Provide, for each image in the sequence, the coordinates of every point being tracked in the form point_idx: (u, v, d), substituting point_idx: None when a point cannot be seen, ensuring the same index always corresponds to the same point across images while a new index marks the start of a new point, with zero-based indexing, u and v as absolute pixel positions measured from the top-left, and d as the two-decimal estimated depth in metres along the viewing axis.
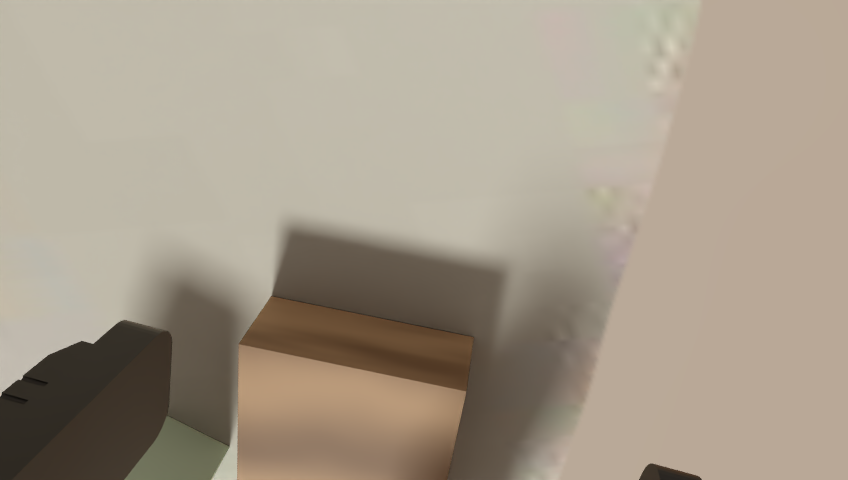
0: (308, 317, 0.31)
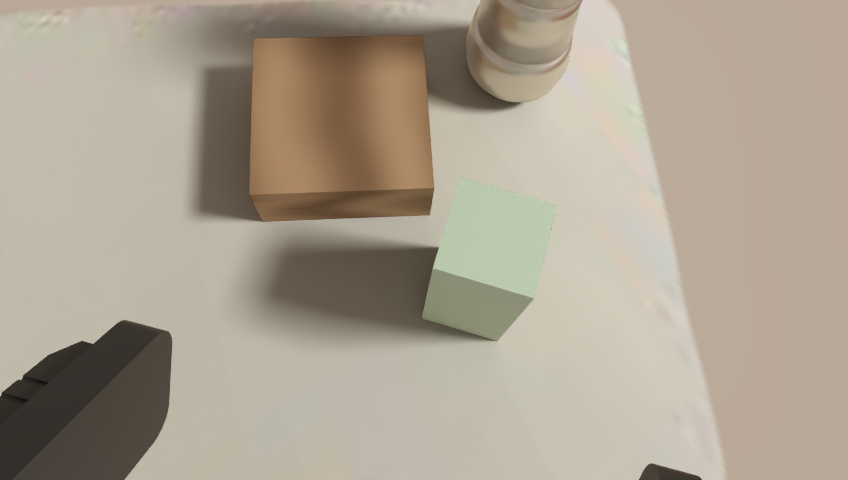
0: None
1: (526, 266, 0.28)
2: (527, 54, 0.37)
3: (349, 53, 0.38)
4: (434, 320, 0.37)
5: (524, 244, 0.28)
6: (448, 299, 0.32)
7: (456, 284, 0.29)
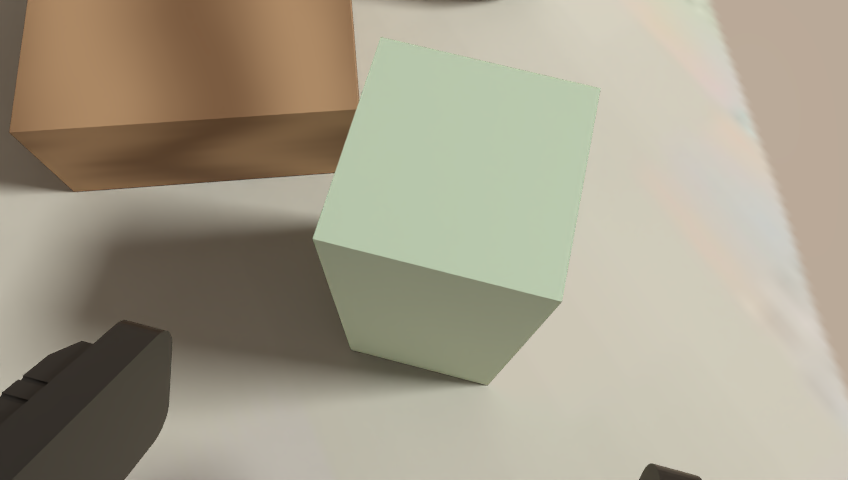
0: None
1: (538, 226, 0.12)
2: None
3: None
4: (372, 352, 0.20)
5: (533, 175, 0.12)
6: (378, 313, 0.15)
7: (379, 277, 0.13)
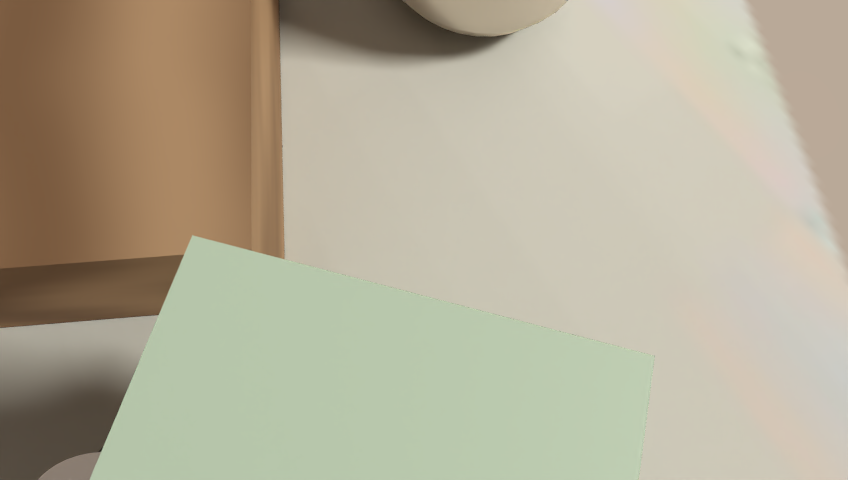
0: None
1: None
2: None
3: None
4: None
5: None
6: None
7: None
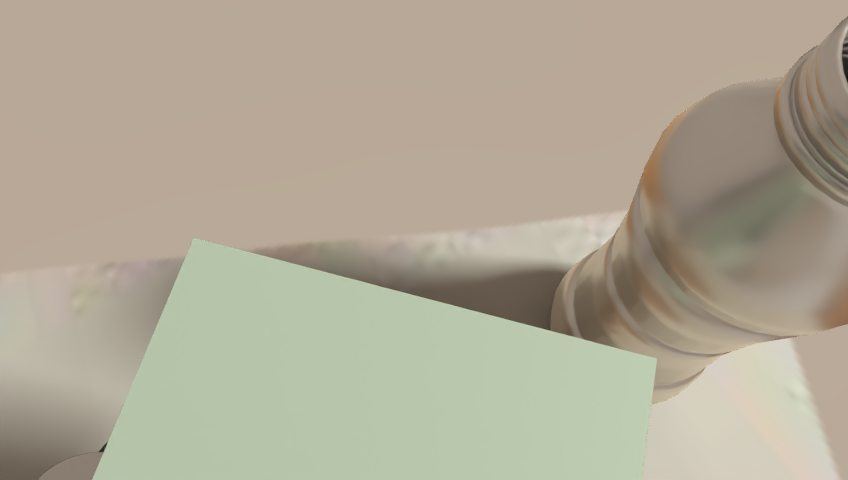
0: None
1: None
2: (663, 378, 0.23)
3: None
4: None
5: None
6: None
7: None
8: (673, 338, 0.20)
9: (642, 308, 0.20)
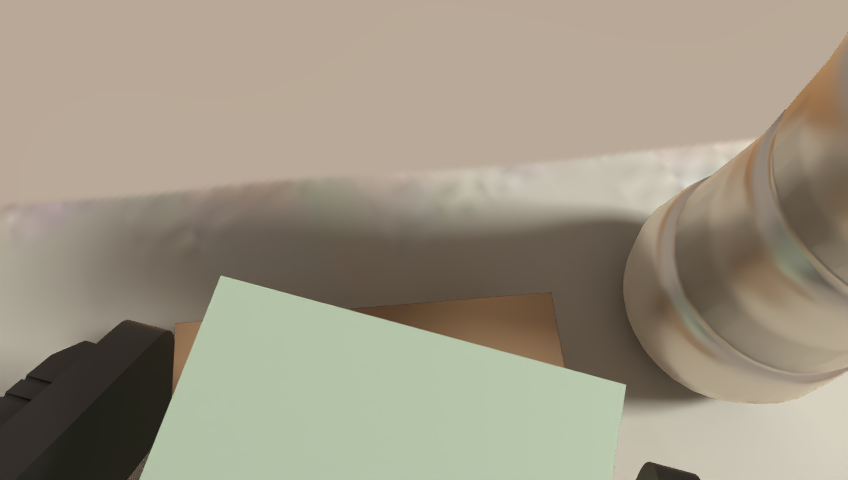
0: None
1: None
2: (822, 364, 0.15)
3: None
4: None
5: None
6: None
7: None
8: None
9: None
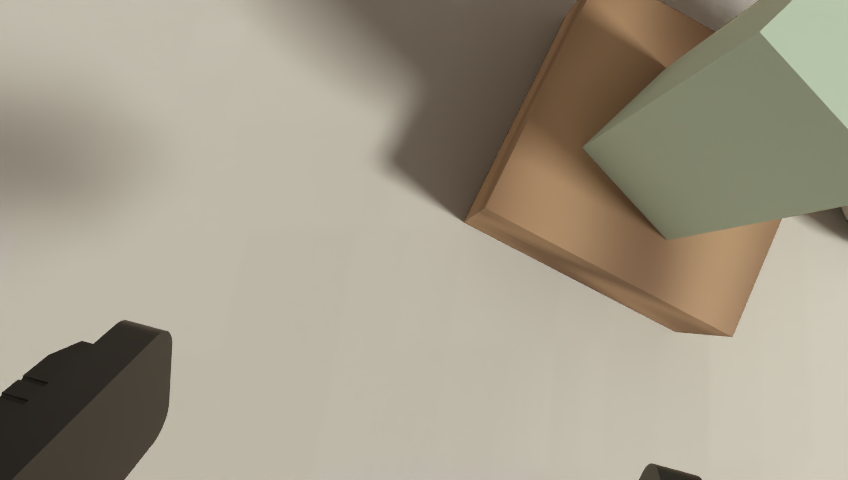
0: (493, 169, 0.26)
1: None
2: None
3: None
4: (601, 159, 0.23)
5: None
6: (686, 126, 0.17)
7: (759, 94, 0.15)
8: None
9: None
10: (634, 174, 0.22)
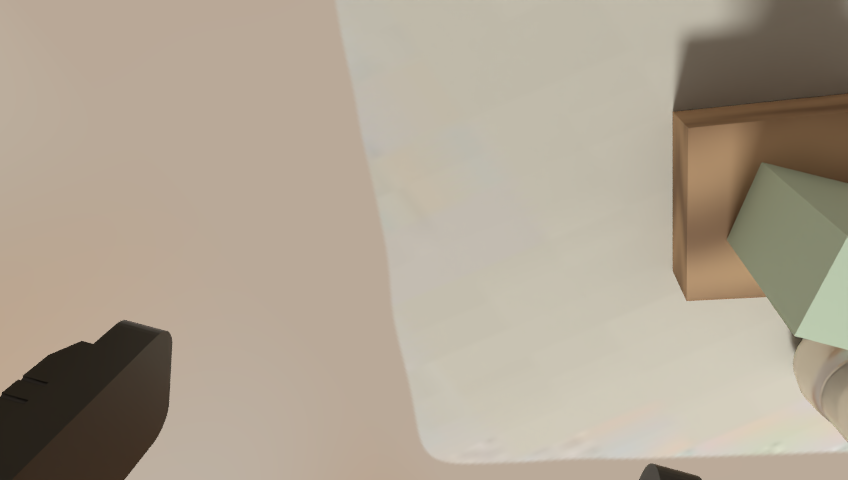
0: (719, 111, 0.35)
1: (833, 330, 0.26)
2: (830, 399, 0.36)
3: None
4: (758, 178, 0.33)
5: None
6: (793, 221, 0.29)
7: (819, 250, 0.26)
8: None
9: None
10: (757, 203, 0.33)
